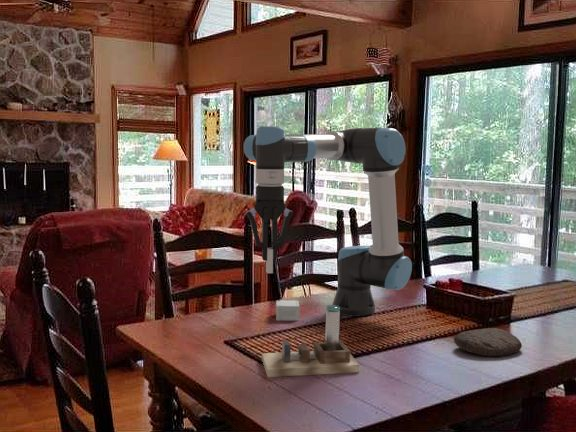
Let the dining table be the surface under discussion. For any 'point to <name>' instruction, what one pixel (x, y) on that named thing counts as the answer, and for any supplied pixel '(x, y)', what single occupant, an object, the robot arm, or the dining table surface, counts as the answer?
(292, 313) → the small box
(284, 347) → the lock pin
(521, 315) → the dining table surface
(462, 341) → the decorative stone
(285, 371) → the dock
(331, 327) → the silver cylinder
